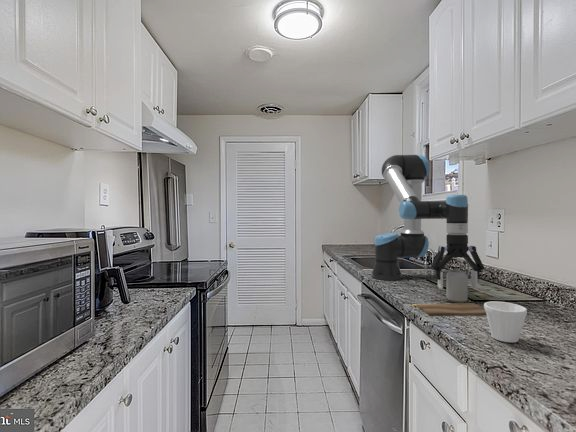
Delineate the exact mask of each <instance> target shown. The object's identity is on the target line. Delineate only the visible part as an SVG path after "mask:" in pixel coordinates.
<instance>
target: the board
mask: <svg viewBox="0 0 576 432" xmlns="http://www.w3.org/2000/svg"><path fill="white" fill-rule="evenodd" d="M417 304H418V305H417V306H416V307H417V308H418V309H419V310H421V311H422V312H424V313H425V314H426V315H427V316H430V317H431V316H432V317H433V316H437V317H438V316H487V314H486V311H485V309H484V306H481V305H479V304H476V303H475V304H462V303H417Z"/></svg>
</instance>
